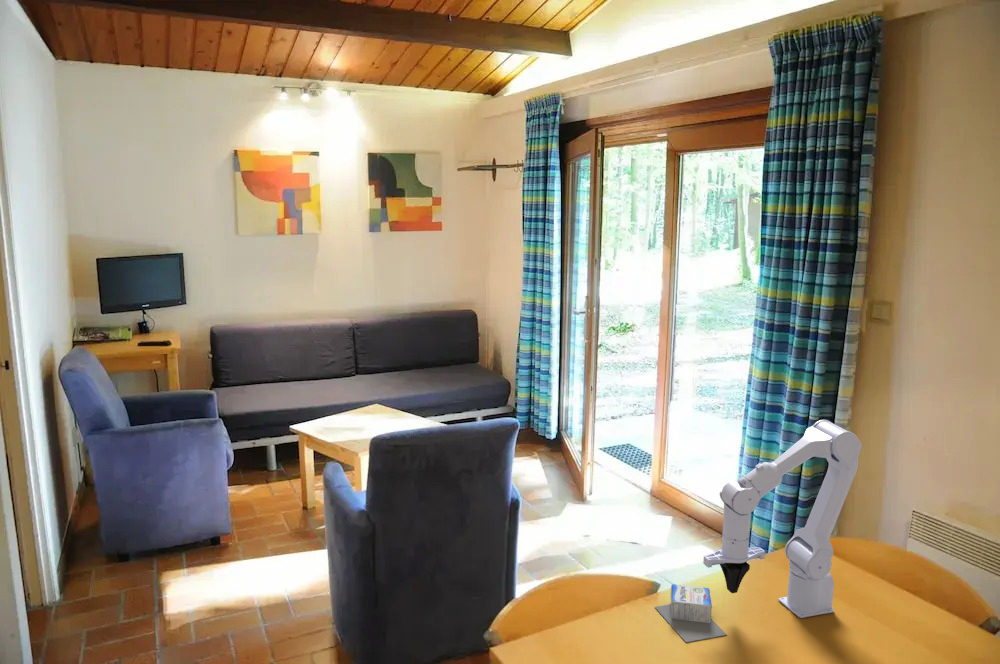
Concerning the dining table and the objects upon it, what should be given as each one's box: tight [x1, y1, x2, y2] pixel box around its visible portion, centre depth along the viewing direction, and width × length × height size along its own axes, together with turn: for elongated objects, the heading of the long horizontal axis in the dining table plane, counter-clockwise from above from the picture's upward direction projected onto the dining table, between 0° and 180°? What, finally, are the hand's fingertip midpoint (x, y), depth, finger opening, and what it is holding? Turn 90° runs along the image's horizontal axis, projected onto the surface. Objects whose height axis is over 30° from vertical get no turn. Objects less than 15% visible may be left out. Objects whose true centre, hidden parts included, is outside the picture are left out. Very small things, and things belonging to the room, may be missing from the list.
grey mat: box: [654, 603, 728, 644], centre depth 165 cm, size 10×14×1 cm
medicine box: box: [670, 583, 713, 623], centre depth 168 cm, size 8×4×9 cm
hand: (732, 590), depth 167 cm, fingers closed
